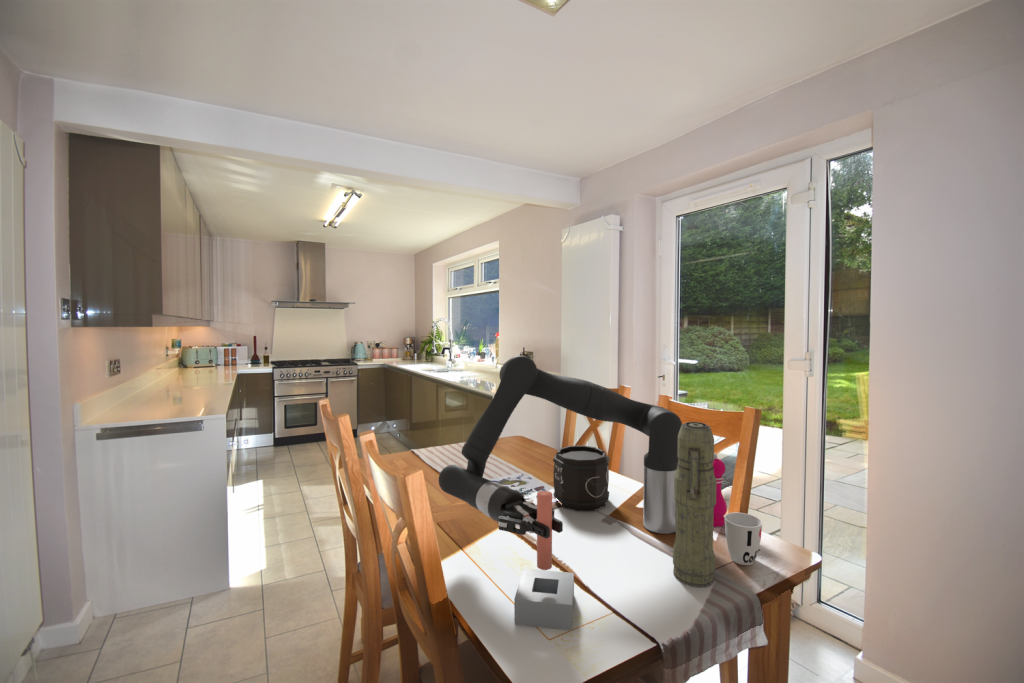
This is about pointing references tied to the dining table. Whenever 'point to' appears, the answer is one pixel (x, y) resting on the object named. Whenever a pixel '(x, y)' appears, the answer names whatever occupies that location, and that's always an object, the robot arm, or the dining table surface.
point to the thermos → (694, 506)
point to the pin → (546, 518)
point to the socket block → (545, 599)
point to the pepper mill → (719, 494)
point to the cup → (743, 537)
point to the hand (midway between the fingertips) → (554, 530)
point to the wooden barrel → (581, 477)
